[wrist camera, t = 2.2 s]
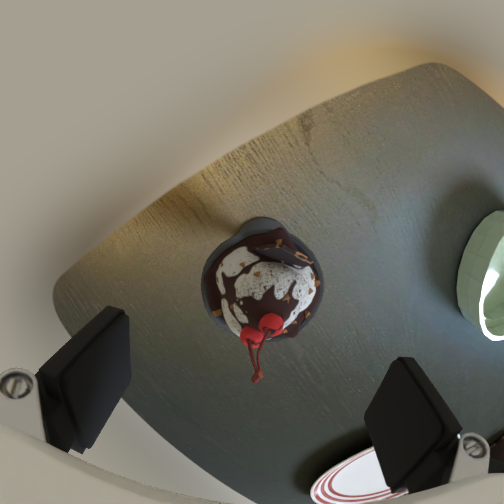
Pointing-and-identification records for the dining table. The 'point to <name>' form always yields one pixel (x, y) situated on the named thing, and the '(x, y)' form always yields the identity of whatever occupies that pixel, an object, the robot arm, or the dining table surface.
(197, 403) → the dining table surface
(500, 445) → the coffee grinder
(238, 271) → the sundae
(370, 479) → the dinner plate
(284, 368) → the dining table surface
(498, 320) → the bowl
